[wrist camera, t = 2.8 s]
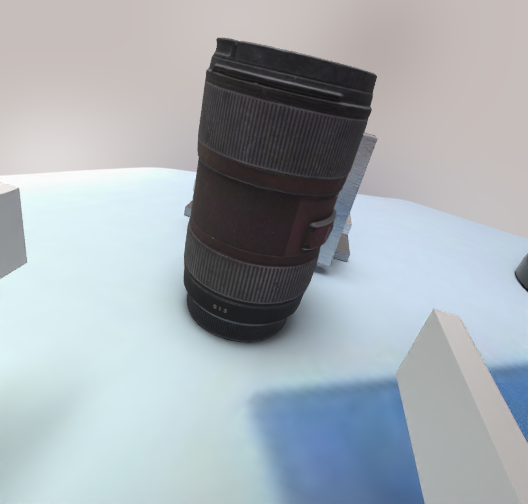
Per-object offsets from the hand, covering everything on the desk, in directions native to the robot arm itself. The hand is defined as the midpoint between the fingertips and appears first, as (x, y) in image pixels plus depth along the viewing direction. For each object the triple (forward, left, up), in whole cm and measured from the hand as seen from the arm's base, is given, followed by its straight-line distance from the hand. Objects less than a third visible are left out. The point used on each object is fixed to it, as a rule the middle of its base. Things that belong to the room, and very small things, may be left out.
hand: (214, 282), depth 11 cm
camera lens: (0, -10, -8) cm, 13 cm away
